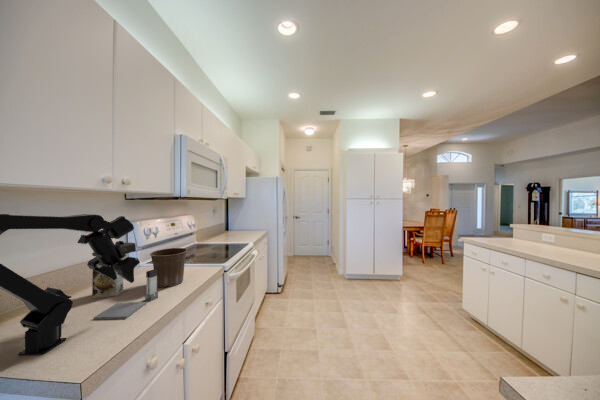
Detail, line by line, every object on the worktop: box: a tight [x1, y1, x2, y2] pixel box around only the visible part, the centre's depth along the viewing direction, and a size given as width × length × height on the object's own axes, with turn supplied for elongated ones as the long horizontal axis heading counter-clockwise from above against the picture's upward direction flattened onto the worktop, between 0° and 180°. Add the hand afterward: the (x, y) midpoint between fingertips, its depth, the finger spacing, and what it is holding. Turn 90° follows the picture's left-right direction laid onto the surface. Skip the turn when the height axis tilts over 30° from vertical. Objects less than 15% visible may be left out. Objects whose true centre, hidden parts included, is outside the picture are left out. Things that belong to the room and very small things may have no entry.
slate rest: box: [93, 301, 147, 321], centre depth 83 cm, size 11×11×1 cm
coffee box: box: [91, 257, 125, 299], centre depth 98 cm, size 9×6×16 cm
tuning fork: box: [144, 269, 159, 302], centre depth 93 cm, size 3×3×12 cm
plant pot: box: [149, 247, 188, 288], centre depth 111 cm, size 16×16×16 cm
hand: (123, 280), depth 83 cm, fingers open, 9 cm apart
